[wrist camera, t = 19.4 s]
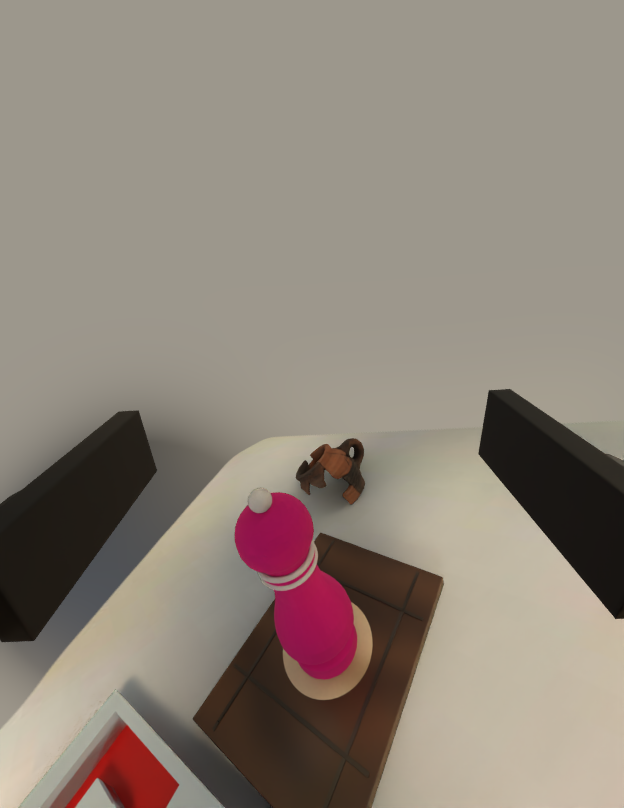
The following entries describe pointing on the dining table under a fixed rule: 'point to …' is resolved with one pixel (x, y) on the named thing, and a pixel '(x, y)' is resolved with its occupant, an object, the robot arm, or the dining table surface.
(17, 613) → the robot arm
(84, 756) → the maze game
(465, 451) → the dining table surface
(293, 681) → the board
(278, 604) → the pepper mill
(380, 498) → the dining table surface
